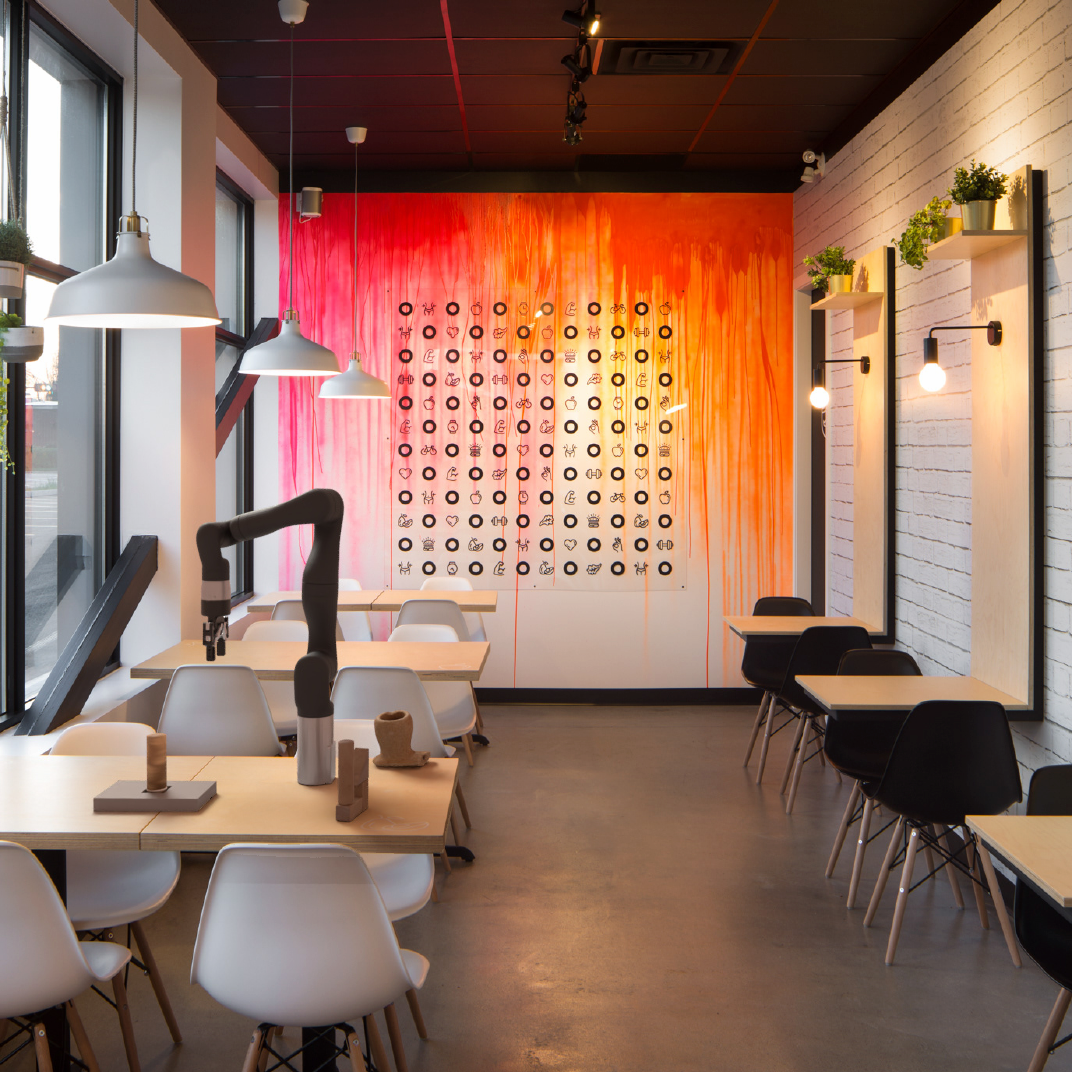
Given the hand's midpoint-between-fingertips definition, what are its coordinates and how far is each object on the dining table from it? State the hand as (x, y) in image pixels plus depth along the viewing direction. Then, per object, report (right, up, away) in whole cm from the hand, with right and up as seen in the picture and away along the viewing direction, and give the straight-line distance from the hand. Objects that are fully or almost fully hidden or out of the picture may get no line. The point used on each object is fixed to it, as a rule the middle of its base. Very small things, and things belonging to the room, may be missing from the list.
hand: (216, 658), depth 256 cm
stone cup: (+48, -31, +8) cm, 57 cm away
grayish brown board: (-6, -31, -25) cm, 40 cm away
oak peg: (-6, -31, -25) cm, 40 cm away
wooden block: (+42, -32, -32) cm, 62 cm away
